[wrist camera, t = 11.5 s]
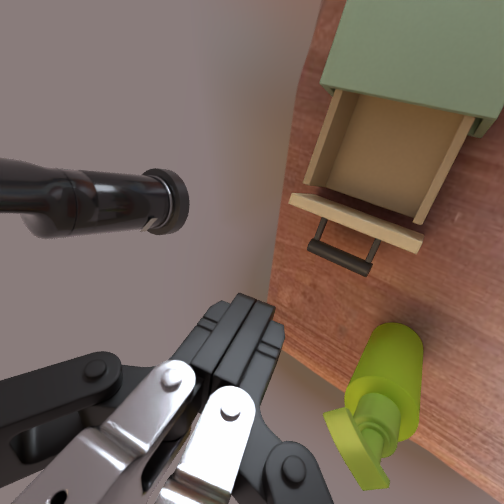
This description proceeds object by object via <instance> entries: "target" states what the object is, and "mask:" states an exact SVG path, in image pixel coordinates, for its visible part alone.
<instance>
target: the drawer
mask: <svg viewBox="0 0 504 504" xmlns="http://www.w3.org/2000/svg"><path fill="white" fill-rule="evenodd" d="M475 119H476V117H472V116H467V115H462V114H457V113H452V112H447V111H442V110H437V109H432V108H428V107H423V106H418V105H413V104H408V103H403V102H398V101H393V100H388V99H383V98H378V97H373V96H368V95H363V94H358V93H353V92H349V91H344V90H339V89H335V92H334V95H333V97H332V100H331V103H330V106H329V109H328V112H327V115H326V118H325V120H324V123H323V126H322V129H321V132H320V135H319V138H318V140H317V143H316V146H315V149H314V152H313V155H312V158H311V160H310V163H309V166H308V169H307V172H306V175H305V178H304V181H303V183H304V184H306V185H310V186H319V187H326V188H329V189H332V190H334V191H337V192H340V193H343V194H346V195H349V196H352V197H354V198H357V199H360V200H363V201H366V202H369V203H371V204H374V205H377V206H380V207H383V208H386V209H389V210H391V211H394V212H397V213H400V214H403V215H406V216H409V217H411V218H414V220H413V223H416V224H418V225H422V224H423V222H424V220H425V218H426V216H427V214H428V212H429V210H430V208H431V206H432V204H433V202H434V200H435V198H436V196H437V194H438V192H439V190H440V188H441V186H442V184H443V182H444V180H445V178H446V176H447V174H448V172H449V170H450V168H451V166H452V164H453V162H454V160H455V158H456V156H457V154H458V152H459V150H460V148H461V146H462V144H463V142H464V140H465V138H466V136H467V134H468V132H469V130H470V128H471V127H472V125H473V123H474V121H475ZM289 204H291V205H293V206H296V207H298V208H301V209H303V210H306V211H309V212H311V213H314V214H316V215H319V216H321V217H322V219H321V221H320V224H319V226H318V229H317V232H316V234H315V237H314V238H312V239H311V241H310V242H309V244H308V247H307V250H308V251H309V252H312V253H314V254H316V255H318V256H320V257H322V258H325V259H327V260H329V261H331V262H333V263H336V264H338V265H340V266H342V267H344V268H347V269H349V270H351V271H353V272H355V273H358V274H360V275H362V276H364V277H367V276H368V274H369V272H370V270H371V268H372V265H373V264H372V263H371V262H372V260H373V258H374V256H375V254H376V252H377V249H378V247H379V245H380V243H381V241H384V242H387V243H389V244H392V245H394V246H397V247H399V248H402V249H404V250H407V251H409V252H412V253H414V254H417V253H418V251H419V249H420V247H421V245H422V243H423V239H424V234H421V233H418V232H416V231H413V230H410V229H407V228H405V227H402V226H399V225H397V224H394V223H391V222H388V221H386V220H383V219H380V218H377V217H375V216H372V215H369V214H367V213H364V212H361V211H358V210H356V209H353V208H350V207H348V206H345V205H342V204H339V203H337V202H334V201H331V200H328V199H326V198H323V197H320V196H318V195H315V194H302V193H292V195H291V197H290V200H289ZM328 219H329V220H331V221H334V222H336V223H339V224H341V225H344V226H346V227H349V228H351V229H354V230H356V231H359V232H362V233H364V234H367V235H369V236H372V237H374V238H375V240H374V242H373V245H372V247H371V249H370V251H369V253H368V256H367V258H366V260H363V259H361V258H358V257H356V256H354V255H352V254H349V253H347V252H345V251H342V250H340V249H338V248H335V247H333V246H331V245H328V244H326V243H324V242H322V241H319V240H320V239H321V236H322V233H323V231H324V228H325V226H326V223H327V221H328Z"/></svg>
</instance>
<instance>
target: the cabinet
mask: <svg viewBox="0 0 504 504" xmlns="http://www.w3.org/2000/svg"><path fill="white" fill-rule="evenodd" d="M320 85H321V86H322V87H323V88H324V89H325V90H326V91H327V92H328V93H329V94H330V95H331V96H332V97H333V95H334V92H335V89H339V90H344V91H349V92H353V93H358V94H363V95H368V96H373V97H378V98H383V99H388V100H393V101H398V102H403V103H408V104H413V105H418V106H423V107H428V108H432V109H437V110H442V111H447V112H452V113H457V114H462V115H467V116H472V117H476V119H475V121H474V123H473V125H472V127H471V128H470V130H469V132H468V134H467V135H468V136H473V137H477V138H482V137H483V135H484V134H485V133H486V132H487V130H488V129H489V128H490V127H491V125H492V124H493V123H494V122H495V120H496V119H497V118H498V116H499V114H500V112H501V110H502V108H503V106H504V0H347V2H346V5H345V8H344V11H343V14H342V17H341V20H340V23H339V26H338V29H337V32H336V35H335V38H334V41H333V44H332V47H331V50H330V53H329V56H328V59H327V62H326V65H325V68H324V71H323V74H322V77H321V80H320Z"/></svg>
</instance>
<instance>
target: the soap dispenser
mask: <svg viewBox="0 0 504 504" xmlns="http://www.w3.org/2000/svg"><path fill="white" fill-rule="evenodd" d="M422 364H423V344H422V341H421V339H420V338H419V336H418V335H417V334H416V333H415V332H414V331H413V330H412V329H411V328H409V327H407V326H405V325H403V324H400V323H385V324H382V325H380V326H378V327H377V328H375V329H374V331H373V332H372V334H371V336H370V338H369V341H368V343H367V345H366V347H365V349H364V352H363V354H362V356H361V358H360V360H359V363H358V365H357V367H356V369H355V371H354V374H353V376H352V378H351V380H350V382H349V385H348V387H347V389H346V392H345V399H344V402H345V407H346V408H345V407H344V408H340V409H336V410H332V411H329V412H325V413H323V417H324V419H325V422H326V424H327V427H328V429H329V432H330V434H331V436H332V438H333V440H334V443H335V445H336V447H337V449H338V450H339V452H340V454H341V456H342V458H343V459H344V461H345V463H346V465H347V466H348V468H349V470H350V471H351V472H352V474H353V476H354V478H355V479H356V480H357V482H358V484H359V485H360V487H361V489H362V490H363V491H365V490H374V489H383V488H389V484H390V480H389V479H388V477H387V476H386V474H385V472H384V471H383V469H382V467H381V466H380V462H381V458H385V457H389V456H391V455H392V454H393V453H394V452H395V450H396V448H397V443H398V442H400V441H403V440H406V439H408V438H409V437H411V436H412V435H413V434H414V433H415V431H416V429H417V427H418V423H419V411H420V396H421V380H422Z"/></svg>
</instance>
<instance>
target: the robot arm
mask: <svg viewBox="0 0 504 504" xmlns="http://www.w3.org/2000/svg"><path fill="white" fill-rule="evenodd" d="M173 212H174V196H173V192H172V190H171V188H170V186H169V184H168V183H167V182H166V181H165V180H164V179H163V178H161V177H159V176H151V175H150V176H144V175H133V174H121V173H120V174H119V173H108V172H96V171H84V170H70V169H58V168H47V167H42V166H38V165H35V164H32V163H28V162H24V161H19V160H14V159H6V158H0V213H17V214H20V216H21V218H22V220H23V222H24V224H25V225H26V227H27V228H28V230H29V231H30V232H31V233H32V234H33V235H35V236H36V237H38V238H42V239H53V238H54V239H55V238H64V237H74V236H83V235H91V234H101V233H110V232H121V231H130V230H140V229H142V230H141V232H142V231H147V230H148V229H150V228H152V229H155V228H162V227H164V226H165V225H167V224H168V223H169V221H170V220H171V218H172V215H173ZM275 309H276V307H275V306H272V305H270V304H267V303H265V302H262V301H260V300H257V299H255V298H252V297H250V296H247V295H244V294H242V293H238V294H237V295H236V297H235V298H234V300H233V301H232V303H231V304H229V303H227V302H225V301H220V302H218V303H216V304H214V305H212V306H211V307H210V308H209V309H208V310H207V312H206V313H205V314H204V316H203V318H201V319H200V321H199V322H198V323H197V326H195V327H194V329H193V330H192V331H191V332H190V334H189V335H188V336H187V338H186V339H185V340H184V341H183V343H182V344H181V345H180V347H179V348H178V349H177V351H176V352H175V353H174V354H173V356H172V357H171V358H170V359H169V360H167V361H165V362H162V363H160V364H159V365H157V366H153V367H135V366H128V365H121V361H120V359H119V358H118V357H117V356H116V355H115V354H113V353H110V352H104V351H101V352H95V353H91V354H87V355H84V356H81V357H77V358H74V359H71V360H68V361H64V362H61V363H58V364H54V365H51V366H47V367H44V368H41V369H38V370H34V371H31V372H28V373H24V374H21V375H18V376H14V377H11V378H8V379H4V380H1V381H0V488H2V487H4V486H6V485H8V484H11V483H13V482H15V481H18V480H20V479H22V478H24V477H27V476H29V475H31V474H33V473H36V472H38V471H40V470H43V469H44V470H43V471H42V472H41V473H40V474H39V475H38V476H37V477H36V478H35V479H34V480H33V481H32V483H30V485H28V486H27V488H26V489H25V490H24V491H23V492H22V493H21V494H20V495H19V496H18V497H17V498H16V499H15V500H14V501H13V502H12V503H11V504H147V501H148V499H149V497H150V496H151V494H152V492H153V491H154V489H155V487H156V486H157V484H158V483H159V481H160V480H161V478H162V477H163V475H164V474H165V472H166V471H167V469H168V468H169V466H170V464H171V463H172V461H173V460H174V458H175V457H176V455H177V454H178V452H179V450H180V449H181V447H182V446H183V445H184V443H185V441H186V440H187V438H188V436H189V435H190V431H191V426H192V422H193V420H194V419H195V417H196V415H197V413H200V414H201V416H200V419H199V421H198V423H197V425H196V427H195V429H194V432H193V434H192V436H191V438H190V440H189V442H188V445H187V447H186V449H185V451H184V453H183V455H182V458H181V460H180V462H179V464H178V466H177V468H176V470H175V472H174V473H173V474H172V475H170V477H169V478H168V479H167V481H166V482H165V484H164V486H163V488H162V490H161V492H160V494H159V496H158V498H157V500H156V502H155V504H228V503H229V500H230V497H231V495H232V496H233V497H234V498H235V499H236V500H237V502H238V503H239V504H334V503H333V500H332V498H331V495H330V493H329V490H328V488H327V485H326V483H325V480H324V478H323V475H322V473H321V470H320V468H319V465H318V463H317V461H316V459H315V457H314V456H313V454H312V453H311V452H310V451H309V450H308V449H307V448H306V447H305V446H303V445H301V444H299V443H297V442H293V441H284V442H282V441H281V440H280V439H279V438H278V437H277V436H276V435H275V434H274V433H273V432H272V431H271V430H270V429H269V428H268V427H267V425H266V424H265V422H264V420H263V419H262V416H261V412H260V405H261V402H262V400H263V397H264V395H265V392H266V390H267V387H268V384H269V382H270V380H271V377H272V374H273V372H274V369H275V367H276V364H277V361H278V358H279V355H280V352H281V349H282V345H283V342H284V339H285V332H284V325H282V324H280V323H277V322H275V321H272V320H273V317H274V313H275Z"/></svg>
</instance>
